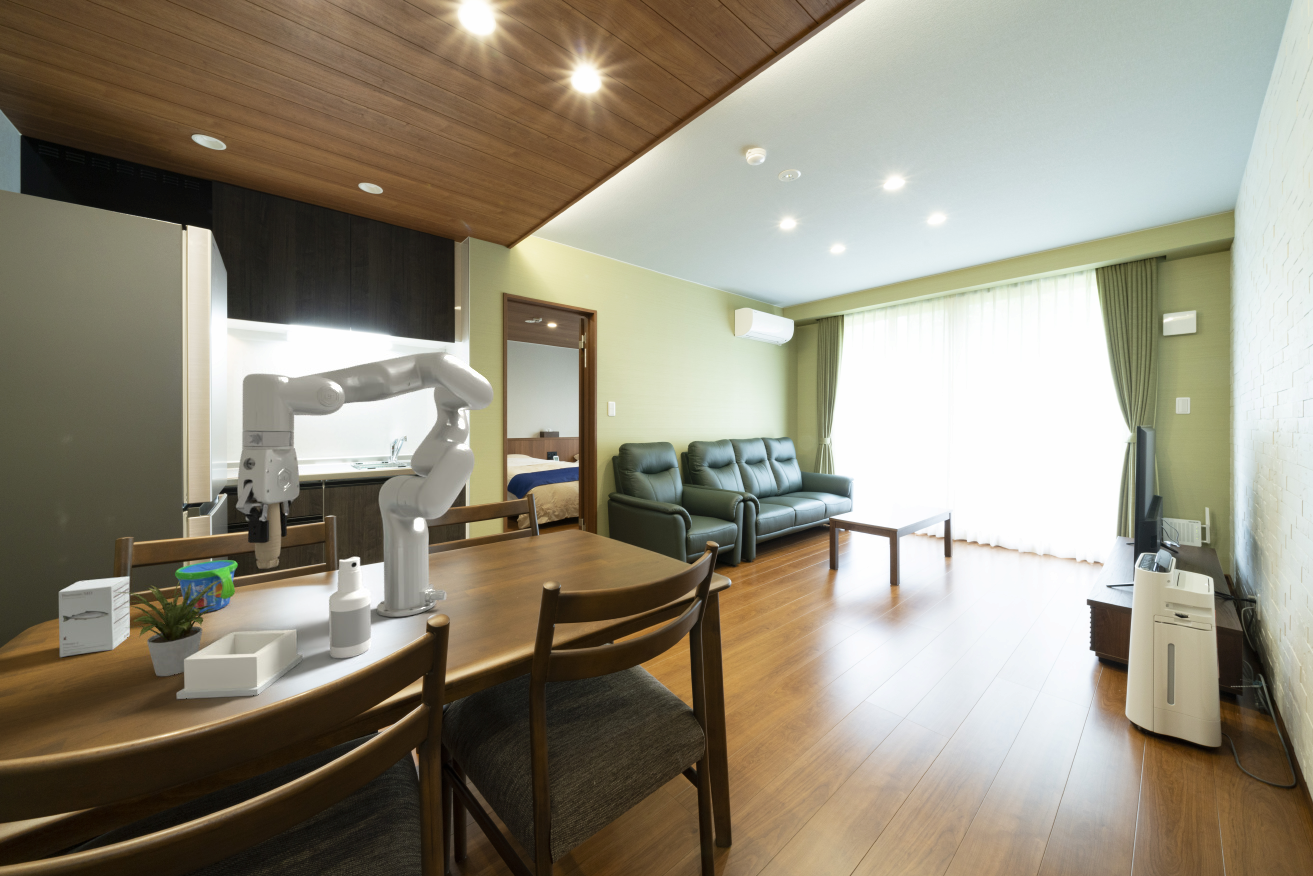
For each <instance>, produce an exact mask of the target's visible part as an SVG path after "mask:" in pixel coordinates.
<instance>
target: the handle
mask: <svg viewBox="0 0 1313 876" xmlns="http://www.w3.org/2000/svg"><path fill="white" fill-rule="evenodd" d="M256 503H262V502H258V501H257V502H256ZM256 508H257V509H258V510H259V512H260V507H256ZM266 520H269V541H268V542H266V543H254V553H255V554H254V555H255V559H256V567H258V569H262V570H263V569H270V568H276V567H277V566H279V563H280V561H279V560H280V559H279V558H278V557H280V554H281V547H282V546H281V545H282V537H281V523H280V506H279V502H278V503H273V504H268V511H267V518H266Z"/></svg>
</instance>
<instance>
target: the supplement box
mask: <svg viewBox="0 0 1313 876" xmlns="http://www.w3.org/2000/svg"><path fill="white" fill-rule="evenodd" d="M130 577H131V576H120V577H109V578H108V577H107V578H99V579H98V578H97V579H89V580H87V579H86V580H79V581H76V582H74V583H73V584H70V585H69V586H67V587H65V588H63V589H61V590H60V591H58V626H59V627H58V630H59V633H58V634H59V639H58V641H59V658H63V657H68V656H75V655H81V654H89V653H97V652H103V651H104V652H105V651H112V650H114V649H115V648H117V647H118V646H119V645H121V644H122V643H123V642H124V641H126V640H127V639H128V638H129V637H130V635H131V634H130V633H131V632H130V628H131V627H130V626H131V625H130V624H131V623H130V620H131V616H130V608H131V607H130V606H131V605H130V594H129V593H130V579H131V578H130ZM117 592H128V593H117ZM125 602H127V603H125ZM121 603H122V604H121ZM125 607H126V608H125ZM120 608H121V609H120ZM127 627H128V628H127ZM127 637H128V638H127Z"/></svg>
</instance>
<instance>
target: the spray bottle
mask: <svg viewBox="0 0 1313 876" xmlns="http://www.w3.org/2000/svg"><path fill="white" fill-rule="evenodd" d="M338 563H339V564H338V565H339V566H338V571H337V590H336V591H335V592H334V593H332V594H331V595H330V596H329V599H328V606H329V607H328V611H329V612H328V614H329V615H328V617H329V620H328V621H329V622H328V623H329V625H328V627H329V655H330V656H331V657H332V658H335V659H347V658H353V657H357V656H359V655H362V654H364V653H366V652H368V651H369V650H370V648H371V647H372V633H371V631H372V629H371V627H372V625H371V622H372V621H371V613H372V612H371V591H370V589H368V588H365V587H363V579H362V567H361V557H359V556H351V557H349V558H345V559H339V561H338Z"/></svg>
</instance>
